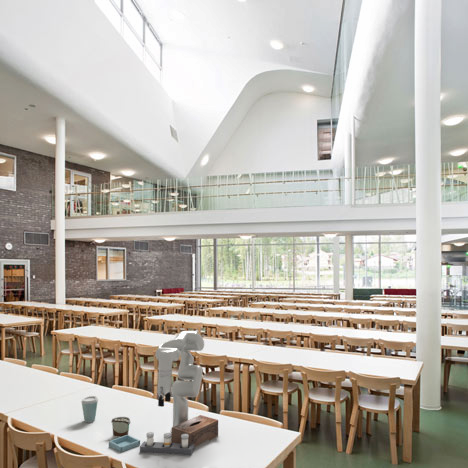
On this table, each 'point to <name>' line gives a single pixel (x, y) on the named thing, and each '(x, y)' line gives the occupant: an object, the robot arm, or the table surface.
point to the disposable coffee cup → (89, 408)
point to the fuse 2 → (184, 440)
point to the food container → (120, 426)
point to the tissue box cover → (196, 430)
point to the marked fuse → (167, 440)
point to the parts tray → (124, 443)
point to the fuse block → (160, 449)
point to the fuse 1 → (150, 439)
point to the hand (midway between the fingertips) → (164, 403)
